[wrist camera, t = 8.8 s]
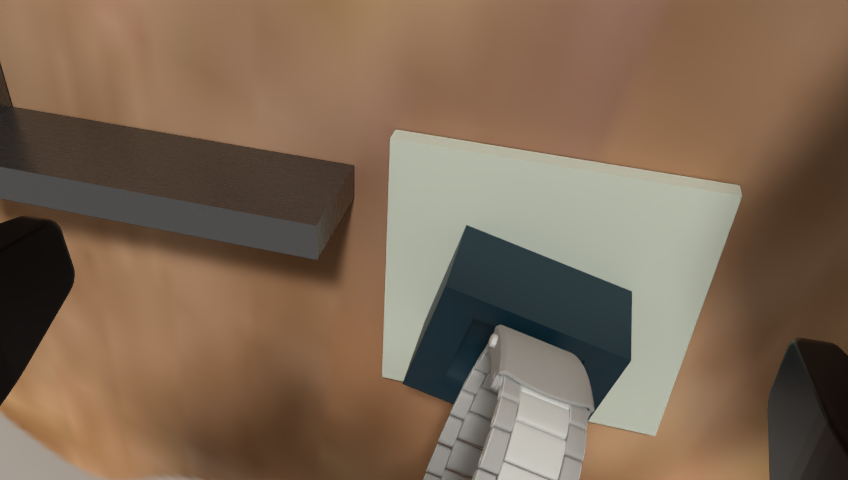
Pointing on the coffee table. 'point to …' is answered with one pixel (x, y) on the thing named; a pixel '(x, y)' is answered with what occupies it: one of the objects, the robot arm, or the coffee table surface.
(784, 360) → the robot arm
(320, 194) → the grey u-shaped piece
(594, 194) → the pad
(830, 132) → the coffee table surface
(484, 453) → the watch
